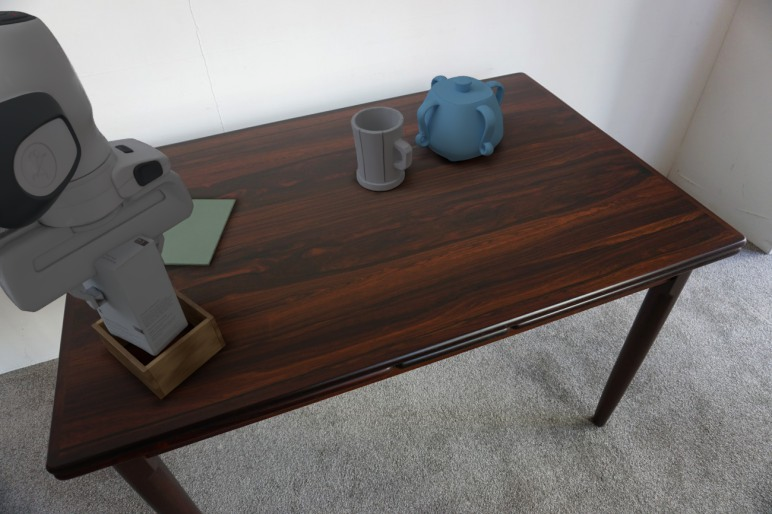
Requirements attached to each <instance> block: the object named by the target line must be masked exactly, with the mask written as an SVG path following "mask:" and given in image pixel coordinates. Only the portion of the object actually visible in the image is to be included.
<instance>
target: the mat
mask: <svg viewBox="0 0 772 514" xmlns="http://www.w3.org/2000/svg"><path fill="white" fill-rule="evenodd" d="M191 199H192V198H191ZM192 201H193V205H194V207H193V211H192V214H191V216H190V217H189V218H187V219H185V220H184V221H182V222H181V223H179V224H177V225H176V226H174V227H172V228H171V229H169V230H168V231H166V232H164V233H163V236H164V238H165V241H164V245H163V250H162V254H161V256H162V258H163V260H164V262H165V264H164V266H207V267H208V266H210V264H211V262H212V259H213V257H214V255H215V252H216V250H217V247H218V246H219V243H220V240H221V238H222V236H223V234H224V230H225V228H226V226H227V224H228V221H229V219H230V216H231V213H232V211H233V209H234V206H235V204H236V201H237V200H236V198H235V199H231V198H230V199H229V198H228V199H226V198H225V199H223V198H222V199H219V198H218V199H217V198H216V199H215V198H213V199H208V198H206V199H203V198H202V199H201V198H200V199H199V198H197V199H196V198H195V199H192Z"/></svg>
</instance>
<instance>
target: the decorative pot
mask: <svg viewBox="0 0 772 514" xmlns="http://www.w3.org/2000/svg"><path fill="white" fill-rule="evenodd" d="M430 81H431V82H430V89H429V91H428V92H427V94H426V96H425V98H424V100H423V102H422V103H421V105H420V106H419V107H418V109H417V112H416V120H417V129H418V132H419V133H417V135H415V138H414V142H415V144H416V146H418V147H421V148H425V147H427V146H428V148H429V149H430V150H431V151H433V152H434V153H436V154H437V155H438V156H441V157H443V158H445V159H447V160H448V161H449V162H450V161H451V162H458V161H466V160H470V159H474V158H478V157H480V156H486V157H487V156H491V155H492V154H493V153H494V149H495V148H496V147H497V146H498V145H499V143H500V142H501V140H502V139H503V136H504V112H503V109H502V108H501V105H502V102H503V100H504V96H505V87H504V85H503V84H502V83H501V82H500V81H498V80H489V81H486V82H484V81H482V80H480V79H478V78H476V77H473V76H468V75H457V76H453V77H452V76H451V77H449V78H448V77H446V76H445V75H443V74H440V75H436V76H434V77H433V78H432V79H431V80H430ZM494 88H496V93H495V92H494V90H493V89H494Z"/></svg>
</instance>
